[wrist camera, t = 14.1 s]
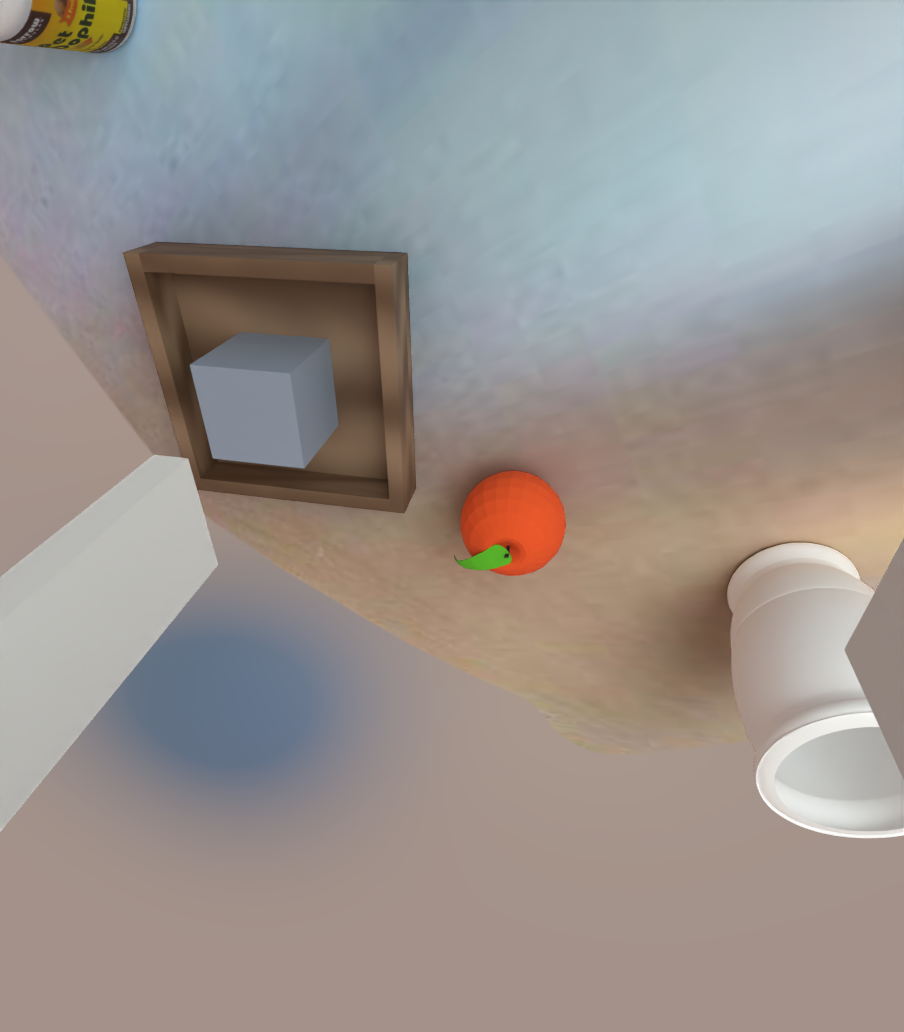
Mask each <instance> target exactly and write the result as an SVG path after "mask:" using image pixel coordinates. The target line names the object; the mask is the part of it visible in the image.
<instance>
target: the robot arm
mask: <svg viewBox="0 0 904 1032" xmlns="http://www.w3.org/2000/svg"><path fill="white" fill-rule="evenodd" d="M217 566H218V563H217V559H216V555H215V552H214V548H213V545H212V541H211V538H210V534H209V531H208V527H207V523H206V520H205V516H204V513H203V509H202V506H201V502H200V498H199V495H198V491H197V488H196V484H195V481H194V477H193V474H192V470H191V466H190V463H189V459H188V458H180V457H170V456H161V455H153V456H152V457H151V458H149V459H148V460H147V461H145V462H144V463H143V464H142V465H141V466H139V467H138V468H137V469H135V470H134V471H133V472H132V473H130V474H129V475H128V476H127V477H125V478H124V479H123V480H122V481H120V482H119V483H118V484H117V485H115V486H114V487H113V488H112V489H110V490H109V491H108V492H107V493H105V494H104V495H103V496H101V497H100V498H99V499H98V500H97V501H95V502H94V503H93V504H91V505H90V506H89V507H88V508H87V509H85V510H84V511H83V512H81V513H80V514H79V515H78V516H76V517H75V518H74V519H73V520H71V522H69V523H68V524H66V525H65V526H64V527H63V528H61V529H60V530H59V531H58V532H56V533H55V534H54V535H53V536H51V537H50V538H49V539H48V540H46V541H45V542H44V543H42V544H41V545H40V546H39V547H37V548H36V549H35V550H34V551H33V552H31V553H30V554H29V555H27V556H26V557H25V558H24V559H23V560H21V561H20V562H19V563H17V564H16V565H15V566H14V567H12V568H11V569H10V570H9V571H7V572H6V573H5V574H4V575H2V576H1V577H0V832H1V830H2V829H3V828H4V827H5V826H6V824H7V823H8V822H9V821H10V819H11V818H12V817H13V816H14V814H15V813H16V812H17V811H18V809H19V808H20V807H21V806H22V805H23V803H24V802H25V801H26V800H27V799H28V797H29V796H30V795H31V793H32V792H33V791H34V790H35V789H36V788H37V786H38V785H39V784H40V783H41V781H42V780H43V779H44V778H45V776H46V775H47V774H48V773H49V772H50V770H51V769H52V768H53V767H54V765H55V764H56V763H57V762H58V761H59V759H60V758H61V757H62V756H63V754H64V753H65V752H66V751H67V750H68V748H69V747H70V746H71V745H72V743H73V742H74V741H75V740H76V739H77V737H78V736H79V735H80V734H81V732H82V731H83V730H84V728H85V727H86V726H87V725H88V724H89V723H90V721H91V720H92V719H93V718H94V716H95V715H96V714H97V713H98V712H99V710H100V709H101V708H102V707H103V705H104V704H105V703H106V702H107V700H108V699H109V698H110V697H111V695H112V694H113V693H114V692H115V691H116V690H117V688H118V687H119V686H120V685H121V683H122V682H123V681H124V680H125V678H126V677H127V676H128V675H129V674H130V672H131V671H132V670H133V669H134V667H135V666H136V665H137V664H138V662H139V661H140V660H141V659H142V658H143V656H144V655H145V654H146V653H147V652H148V650H149V649H150V648H151V647H152V645H153V644H154V643H155V642H156V640H157V639H158V638H159V636H161V634H162V633H163V632H164V631H165V629H166V628H167V627H168V626H169V625H170V623H171V622H172V621H173V619H174V618H175V617H176V616H177V615H178V614H179V612H180V611H181V610H182V609H183V607H184V606H185V605H186V604H187V603H188V601H189V600H190V599H191V598H192V596H193V595H194V594H195V593H196V591H197V590H198V589H199V588H200V587H201V585H202V584H203V583H204V582H205V580H206V579H207V578H208V577H209V575H210V574H211V573H212V572H213V571H214V569H215V568H216V567H217ZM844 650H845V653H846V655H847V657H848V659H849V661H850V664H851V666H852V668H853V670H854V672H855V675H856V677H857V679H858V681H859V683H860V685H861V688H862V690H863V692H864V694H865V696H866V699H867V701H868V703H869V705H870V707H871V710H872V712H873V714H874V716H875V718H876V720H877V723H878V725H879V727H880V729H881V731H882V734H883V736H884V738H885V740H886V742H887V745H888V747H889V749H890V751H891V753H892V756H893V758H894V760H895V762H896V764H897V766H898V769H899V771H900V773H901V775H902V777H903V780H904V539H903V541H902V543H901V544H900V546H899V548H898V550H897V552H896V554H895V556H894V557H893V559H892V561H891V563H890V565H889V567H888V569H887V571H886V572H885V574H884V576H883V578H882V580H881V582H880V584H879V585H878V587H877V589H876V591H875V593H874V595H873V597H872V598H871V600H870V602H869V604H868V606H867V608H866V610H865V611H864V613H863V615H862V617H861V619H860V621H859V623H858V625H857V626H856V628H855V630H854V632H853V634H852V636H851V638H850V639H849V641H848V643H847V645H846V647H845V649H844Z"/></svg>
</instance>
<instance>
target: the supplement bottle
mask: <svg viewBox="0 0 904 1032" xmlns="http://www.w3.org/2000/svg"><path fill="white" fill-rule="evenodd" d="M136 10H137V1H136V0H0V43H7V44H16V45H25V46H35V47H45V48H54V49H63V50H72V51H81V52H90V53H106V52H110V51H113V50H115V49H117V48H118V47H120V46H121V45H122V44H123V43H124V42H125V41H126V40H127V38H128V37H129V35H130V34H131V31H132V29H133V26H134V22H135V18H136Z"/></svg>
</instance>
